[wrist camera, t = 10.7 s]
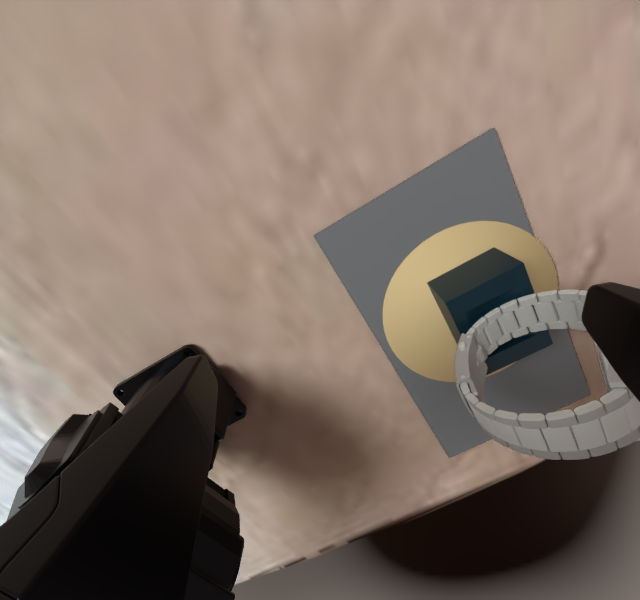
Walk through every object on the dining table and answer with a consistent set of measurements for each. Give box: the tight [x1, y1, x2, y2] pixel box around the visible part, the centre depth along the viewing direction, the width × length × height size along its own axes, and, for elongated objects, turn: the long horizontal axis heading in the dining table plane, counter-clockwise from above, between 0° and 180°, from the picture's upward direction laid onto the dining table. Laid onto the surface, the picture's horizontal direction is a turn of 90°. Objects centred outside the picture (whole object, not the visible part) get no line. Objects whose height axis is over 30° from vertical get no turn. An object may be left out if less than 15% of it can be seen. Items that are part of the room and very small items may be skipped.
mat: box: [314, 128, 591, 458], centre depth 23 cm, size 12×20×1 cm, turn 31°
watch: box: [427, 247, 640, 460], centre depth 17 cm, size 6×8×11 cm
